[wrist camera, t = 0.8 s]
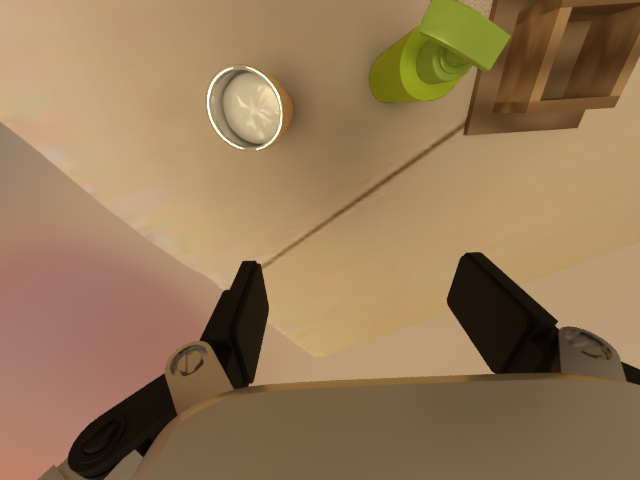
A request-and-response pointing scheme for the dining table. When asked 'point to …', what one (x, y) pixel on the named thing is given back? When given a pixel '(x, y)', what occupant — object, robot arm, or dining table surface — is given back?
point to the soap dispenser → (436, 54)
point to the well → (555, 64)
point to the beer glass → (248, 107)
